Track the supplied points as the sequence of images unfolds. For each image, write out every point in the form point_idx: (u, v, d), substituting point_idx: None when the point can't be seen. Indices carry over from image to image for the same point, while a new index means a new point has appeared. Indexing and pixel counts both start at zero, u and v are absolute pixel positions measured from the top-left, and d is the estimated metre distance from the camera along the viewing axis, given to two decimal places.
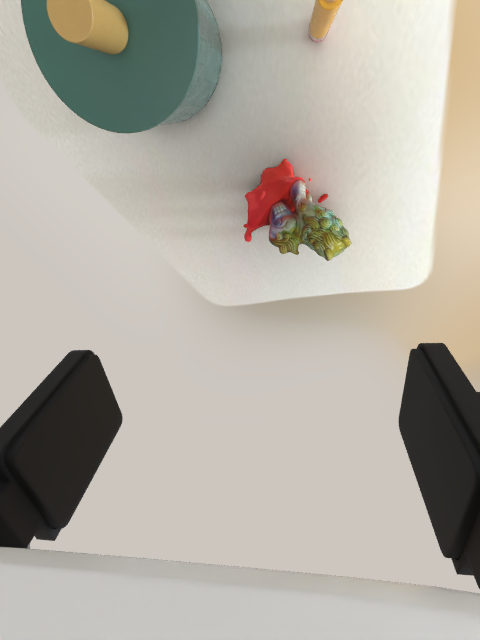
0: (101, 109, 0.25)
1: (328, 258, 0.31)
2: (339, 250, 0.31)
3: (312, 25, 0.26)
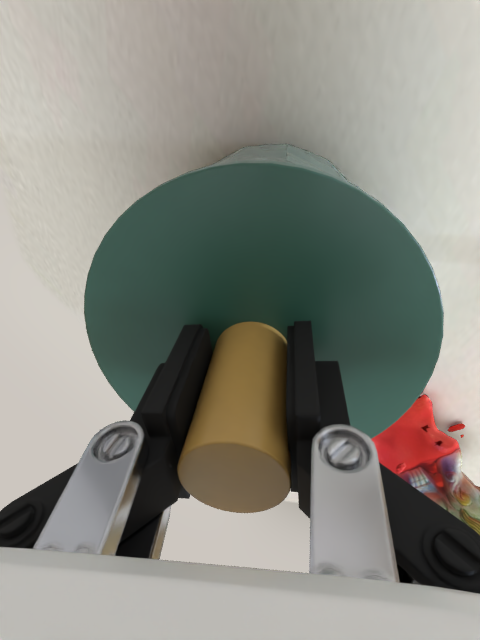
0: None
1: None
2: None
3: None
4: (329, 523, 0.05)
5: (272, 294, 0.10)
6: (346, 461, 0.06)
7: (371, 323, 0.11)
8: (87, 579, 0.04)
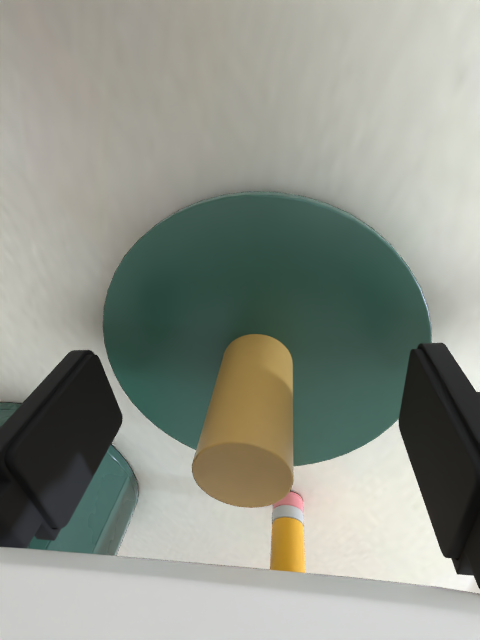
0: None
1: None
2: None
3: None
4: None
5: (276, 309, 0.12)
6: None
7: (366, 336, 0.12)
8: (87, 579, 0.04)
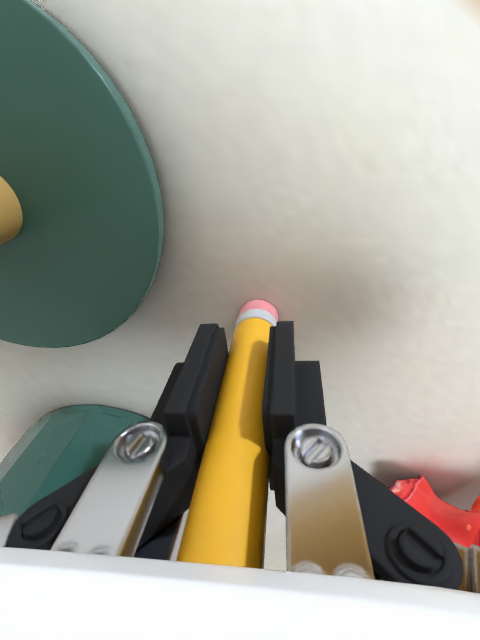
0: (81, 313, 0.13)
1: None
2: None
3: None
4: (295, 521, 0.05)
5: None
6: (319, 460, 0.06)
7: None
8: (87, 579, 0.04)
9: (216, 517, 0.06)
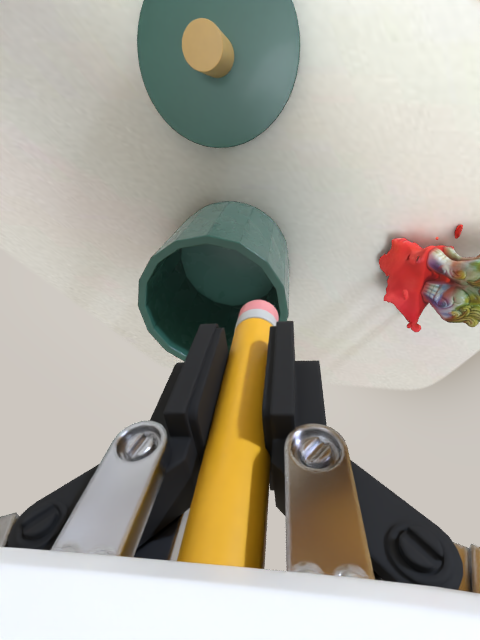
0: (247, 122, 0.27)
1: None
2: None
3: None
4: (295, 520, 0.05)
5: None
6: (319, 460, 0.06)
7: None
8: (87, 579, 0.04)
9: (216, 517, 0.06)
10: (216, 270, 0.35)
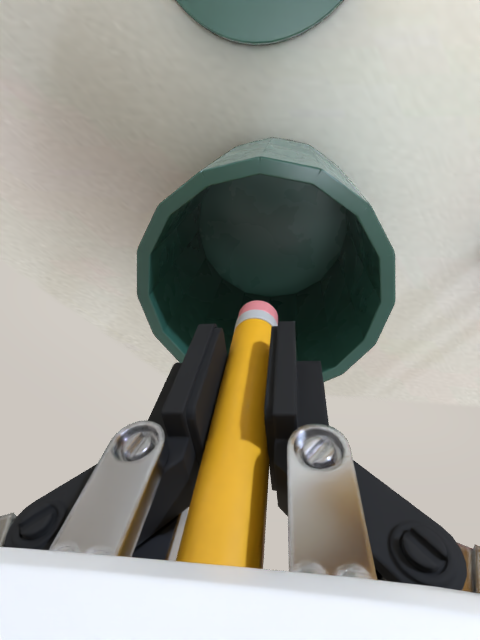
0: None
1: None
2: None
3: None
4: (299, 521, 0.05)
5: None
6: (322, 461, 0.06)
7: None
8: (87, 579, 0.04)
9: (215, 518, 0.06)
10: (248, 247, 0.24)
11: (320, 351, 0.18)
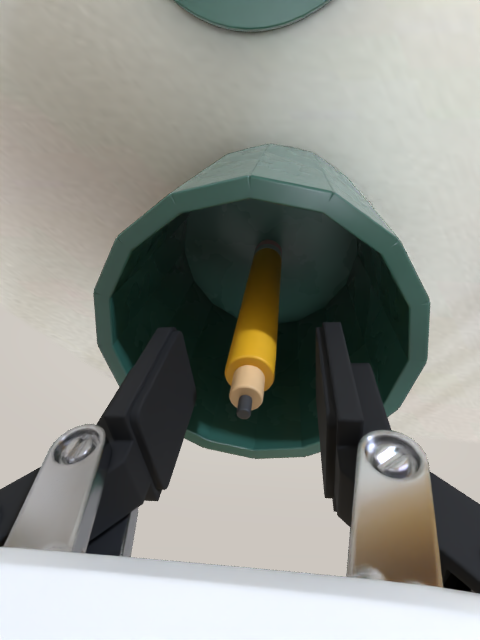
0: None
1: None
2: None
3: None
4: (387, 535, 0.05)
5: None
6: (394, 469, 0.06)
7: None
8: (87, 579, 0.04)
9: (253, 312, 0.13)
10: (243, 269, 0.21)
11: None
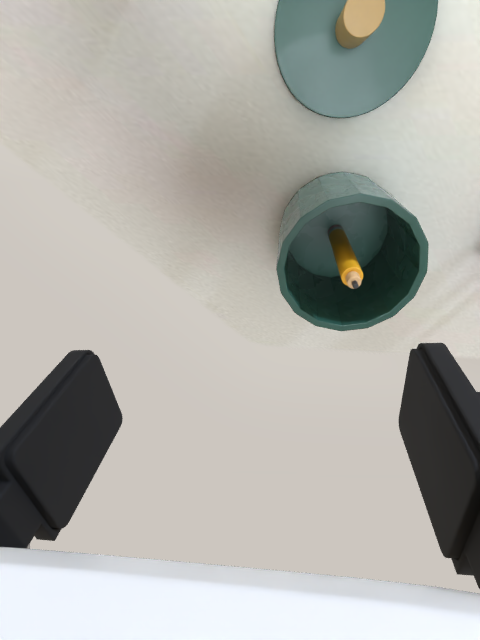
0: (373, 91, 0.28)
1: None
2: None
3: None
4: None
5: None
6: None
7: None
8: (87, 579, 0.04)
9: (347, 254, 0.27)
10: (319, 242, 0.36)
11: (377, 305, 0.30)
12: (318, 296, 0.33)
